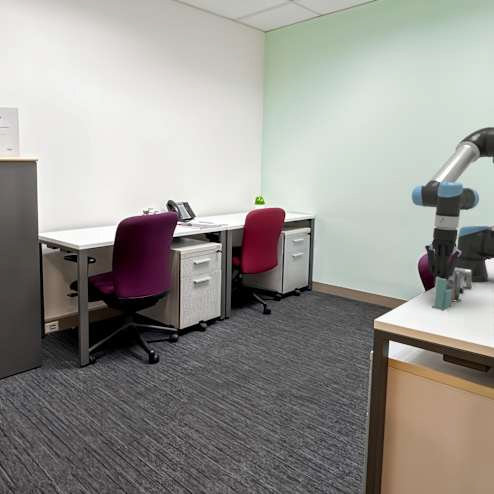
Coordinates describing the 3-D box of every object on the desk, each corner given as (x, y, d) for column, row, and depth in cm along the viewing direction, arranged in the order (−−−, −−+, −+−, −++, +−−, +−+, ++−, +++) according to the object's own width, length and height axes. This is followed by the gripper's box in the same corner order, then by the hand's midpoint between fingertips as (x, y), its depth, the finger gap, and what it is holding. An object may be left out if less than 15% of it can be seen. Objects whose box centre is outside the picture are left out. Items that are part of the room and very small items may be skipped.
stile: (439, 304, 164) (442, 275, 162) (450, 306, 161) (453, 278, 160) (431, 307, 159) (434, 278, 158) (443, 310, 157) (446, 280, 155)
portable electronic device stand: (472, 288, 190) (474, 267, 189) (467, 291, 184) (469, 270, 182) (449, 284, 195) (452, 264, 194) (444, 287, 189) (446, 267, 188)
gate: (450, 299, 169) (452, 282, 168) (454, 300, 167) (456, 283, 166) (437, 304, 161) (439, 287, 160) (441, 305, 160) (443, 288, 159)
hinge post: (451, 298, 172) (454, 270, 171) (462, 300, 170) (465, 272, 168) (447, 300, 170) (450, 271, 168) (458, 302, 167) (461, 273, 165)
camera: (453, 294, 179) (454, 284, 178) (435, 288, 189) (436, 278, 188) (464, 294, 180) (465, 283, 180) (446, 287, 190) (446, 277, 189)
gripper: (422, 226, 164) (415, 291, 168) (457, 231, 153) (448, 301, 158) (435, 225, 168) (428, 289, 172) (469, 230, 158) (461, 298, 162)
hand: (438, 294), depth 165 cm, fingers closed
